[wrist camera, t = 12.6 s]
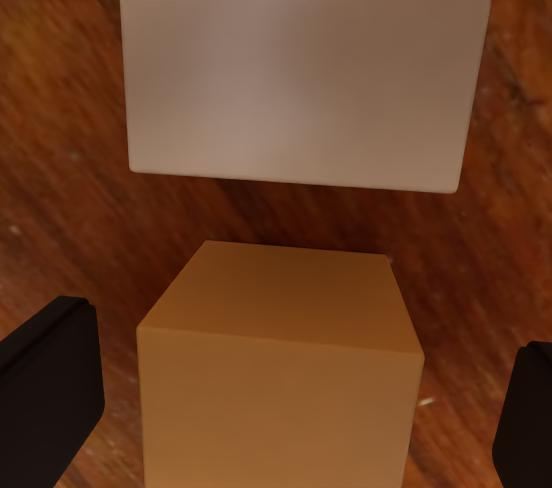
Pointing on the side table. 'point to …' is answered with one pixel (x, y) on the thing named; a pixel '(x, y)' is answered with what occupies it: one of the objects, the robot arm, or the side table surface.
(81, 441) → the robot arm
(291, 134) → the block
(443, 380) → the side table surface
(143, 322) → the orange cube
